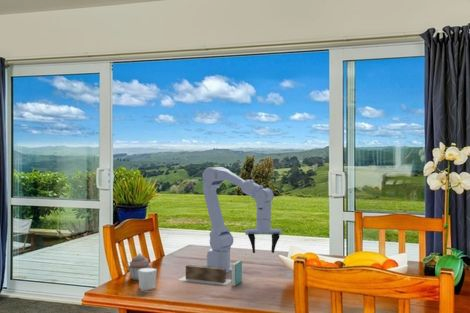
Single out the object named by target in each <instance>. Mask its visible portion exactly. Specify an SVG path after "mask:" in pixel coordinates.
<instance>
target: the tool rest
mask: <svg viewBox="0 0 470 313" xmlns="http://www.w3.org/2000/svg"><path fill="white" fill-rule="evenodd" d="M178 281H181V282H182V281H184V282H194V283H202V284H211V285H219V286H220V285H221V286H227V285H228V284H230V283H232V278H231V279H230V278H226V281H225V282H224V283H222V282H212V281H203V280H194V279H186V275H184V276H182V277H181V278H179V279H178Z"/></svg>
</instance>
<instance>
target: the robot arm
mask: <svg viewBox="0 0 470 313" xmlns="http://www.w3.org/2000/svg"><path fill="white" fill-rule="evenodd" d="M201 176H202V193H203V195H204V200H205V205H206V209H207V213H208V217H209V220H210V225H211V230H210V232H209V235H208V236H209V245H210V249H208V251H207V253H206V266H208V267H219V268H226V274H227V273H229V272H230V271H232V267H231V248H232V245H233V244H234V237H233V235H232V233H231V231H230V229H229V227H227V226H226V225H225V220H224V217H223V213H222V209H221V205H220V201H219V198H218V193H217V189H218V188H219V186H220V185H221V184H222V183H224V182H225V181H226V182H228V183H231V184H233V185H235V186H237V187H239V188H240V189H241V192H242V193H244V194H245V195H247V196H249V197H250V198H252V199H254V201H255V204H256V205H255V206H256V228H248V229H247V228H246V229H244V231H245V235H246V236H247V237H248V239H249V241H250V244H251V245H250V246H251V248H252V253H253V254H256V245H255V244H256V236H255V235H271V248H270V250H271V253H272V254H275V249H276V246H277V243H278V242H279V239H280V235H283V230H282V229H281V228H272V227H271V226H272V225H271V224H272V201H273V199H274V196H275V194H274V191H273V190H272V189H271V188H269V187H264V186H263V185H262V184H258V183H256V182H255V180H253V179H243V178H241V177H240V176H239V175H237V174H235V173H234V172H232V171H231V170H230V169H228V168H225V167H224V166H219V167H217V166H216V167H213V166H212V167H211V166H208V167H206V168H205V169H204V171H203V173H201Z"/></svg>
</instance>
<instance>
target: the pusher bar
mask: <svg viewBox="0 0 470 313" xmlns="http://www.w3.org/2000/svg"><path fill="white" fill-rule="evenodd" d="M185 276H186V279H194V280H203V281H212V282H222V283H224V282H225V281H226V279H227V273H226V268H219V267H208V266H207V265H205V266H204V265H195V264H187V265H185Z"/></svg>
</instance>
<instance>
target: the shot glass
mask: <svg viewBox="0 0 470 313" xmlns="http://www.w3.org/2000/svg"><path fill="white" fill-rule="evenodd" d="M157 272H158V271H157V268H154V267H151V268H141V269H139V270H138V277H139V280H138V284H139V286H138V287H139V290H140V291H144V292H146V291H147V292H149V291H150V290H154V289H155V288H156V281H157Z"/></svg>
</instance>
